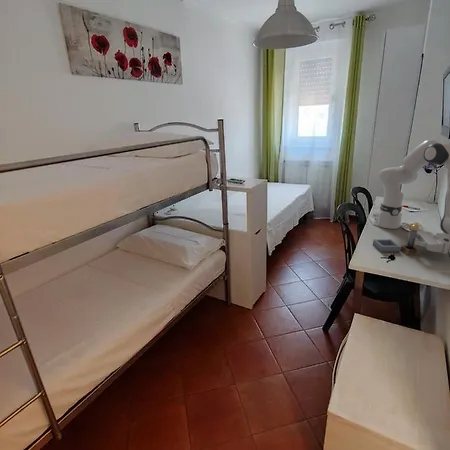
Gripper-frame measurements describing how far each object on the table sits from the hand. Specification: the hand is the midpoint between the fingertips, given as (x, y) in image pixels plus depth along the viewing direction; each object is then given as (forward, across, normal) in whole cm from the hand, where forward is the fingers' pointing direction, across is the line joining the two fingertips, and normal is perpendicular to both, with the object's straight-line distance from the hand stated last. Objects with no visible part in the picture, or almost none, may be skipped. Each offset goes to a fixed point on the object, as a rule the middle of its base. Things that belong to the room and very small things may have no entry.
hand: (411, 239), depth 163 cm
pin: (0, 0, +8) cm, 8 cm away
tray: (+11, -2, +8) cm, 14 cm away
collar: (0, 0, +8) cm, 8 cm away
